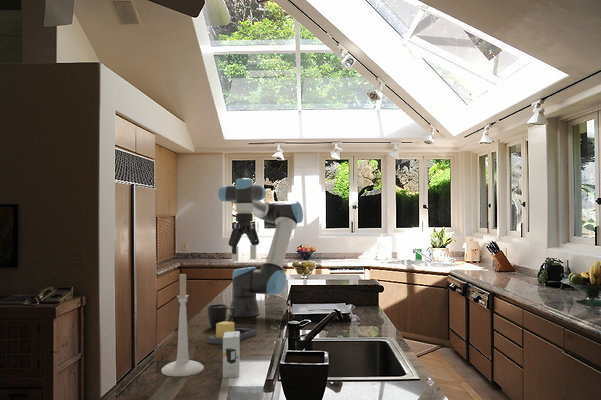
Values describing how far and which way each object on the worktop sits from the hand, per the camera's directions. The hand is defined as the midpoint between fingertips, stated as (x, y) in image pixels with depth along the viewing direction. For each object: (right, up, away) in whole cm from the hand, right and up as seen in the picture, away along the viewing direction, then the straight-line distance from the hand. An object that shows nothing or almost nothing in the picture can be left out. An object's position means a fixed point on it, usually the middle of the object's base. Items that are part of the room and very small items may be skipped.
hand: (244, 260), depth 228 cm
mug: (-9, -29, -6) cm, 31 cm away
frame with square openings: (-2, -27, -28) cm, 39 cm away
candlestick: (-11, -26, -70) cm, 76 cm away
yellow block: (-4, -27, -32) cm, 42 cm away
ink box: (+4, -26, -74) cm, 78 cm away
